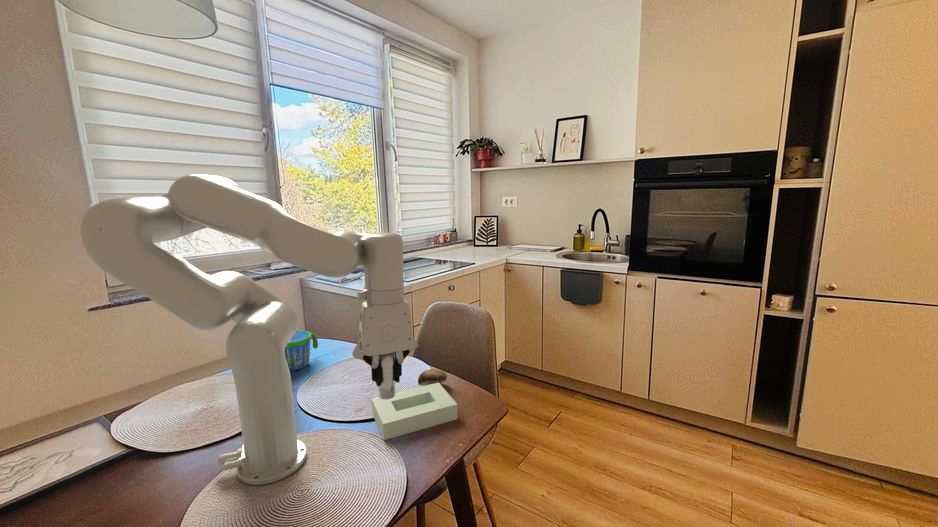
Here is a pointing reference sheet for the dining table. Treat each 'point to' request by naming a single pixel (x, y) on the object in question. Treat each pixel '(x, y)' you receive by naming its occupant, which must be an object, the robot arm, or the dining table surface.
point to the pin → (387, 376)
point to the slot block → (413, 410)
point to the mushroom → (431, 377)
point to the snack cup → (299, 349)
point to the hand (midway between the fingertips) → (386, 380)
